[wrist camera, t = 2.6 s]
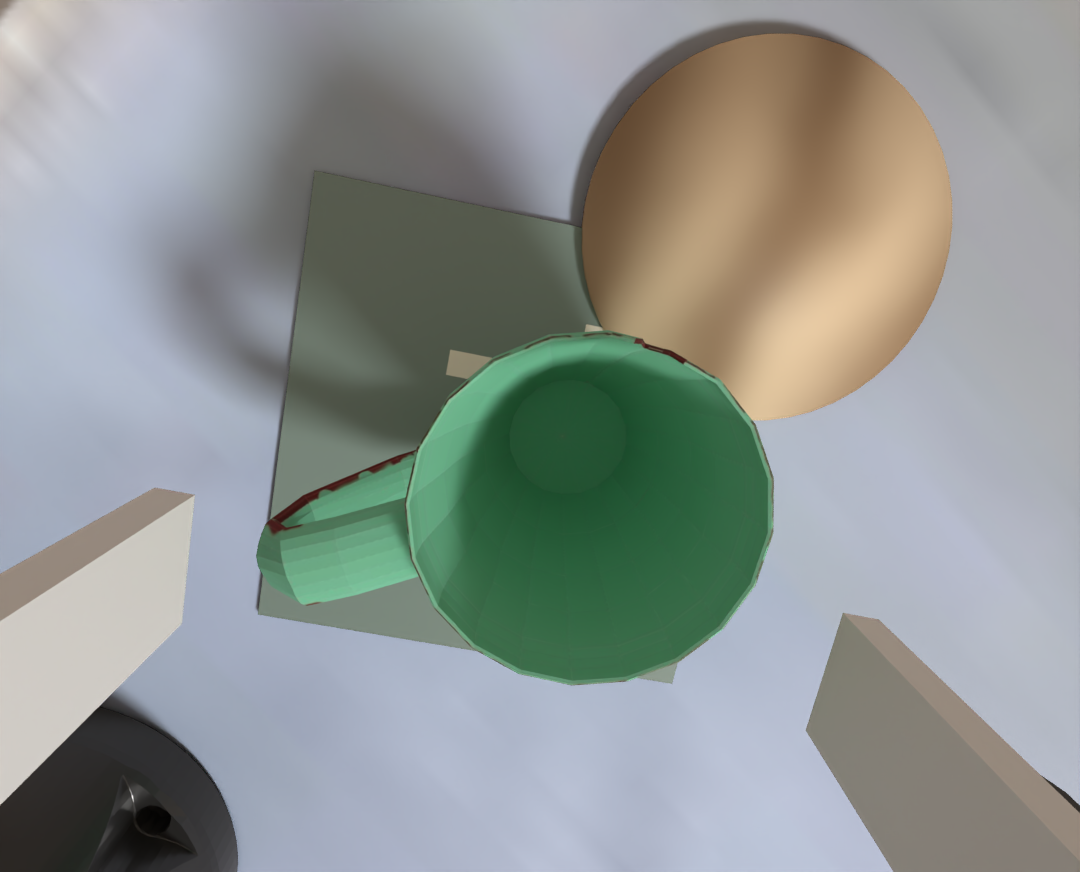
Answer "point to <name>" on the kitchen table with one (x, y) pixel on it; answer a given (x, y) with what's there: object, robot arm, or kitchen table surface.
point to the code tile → (406, 350)
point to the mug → (555, 512)
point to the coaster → (771, 220)
